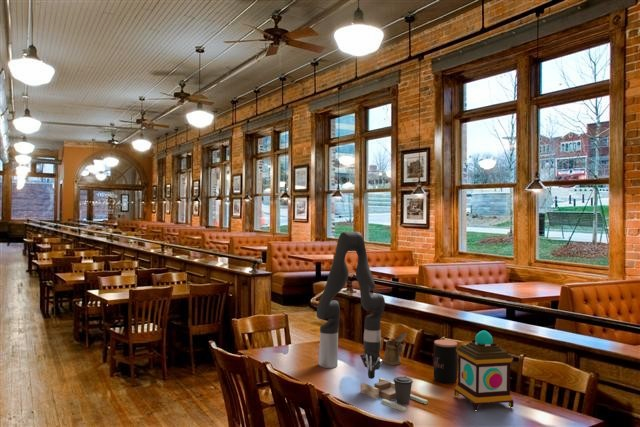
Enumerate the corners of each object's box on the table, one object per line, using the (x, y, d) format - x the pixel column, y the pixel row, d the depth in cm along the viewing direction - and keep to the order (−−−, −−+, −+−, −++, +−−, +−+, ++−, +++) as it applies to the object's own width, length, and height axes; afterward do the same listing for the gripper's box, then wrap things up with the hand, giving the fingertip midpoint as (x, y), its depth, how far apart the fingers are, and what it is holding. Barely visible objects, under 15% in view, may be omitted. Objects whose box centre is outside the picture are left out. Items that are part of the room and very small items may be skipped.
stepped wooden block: (360, 392, 219) (360, 383, 219) (380, 386, 227) (380, 377, 227) (376, 399, 212) (376, 389, 212) (397, 392, 219) (397, 383, 219)
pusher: (374, 394, 217) (374, 383, 217) (385, 390, 221) (385, 380, 221) (389, 400, 209) (389, 389, 209) (401, 397, 214) (401, 386, 214)
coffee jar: (430, 377, 242) (431, 339, 242) (452, 376, 243) (452, 339, 243) (437, 384, 231) (438, 345, 231) (460, 384, 232) (460, 345, 232)
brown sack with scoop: (397, 368, 254) (398, 333, 254) (379, 362, 265) (380, 328, 265) (410, 366, 259) (411, 331, 259) (392, 359, 270) (392, 326, 270)
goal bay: (381, 402, 208) (381, 399, 208) (405, 394, 217) (405, 392, 217) (403, 411, 198) (403, 408, 198) (427, 403, 207) (427, 400, 207)
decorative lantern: (449, 395, 217) (450, 326, 217) (491, 392, 221) (492, 324, 222) (474, 413, 198) (475, 337, 198) (518, 410, 202) (519, 335, 202)
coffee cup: (411, 398, 212) (411, 375, 212) (414, 406, 204) (414, 381, 204) (392, 398, 213) (392, 374, 213) (393, 405, 205) (394, 380, 205)
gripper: (355, 337, 226) (354, 375, 226) (376, 343, 215) (375, 384, 216) (367, 334, 231) (367, 372, 231) (389, 341, 220) (388, 380, 220)
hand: (371, 378), depth 223 cm, fingers closed
